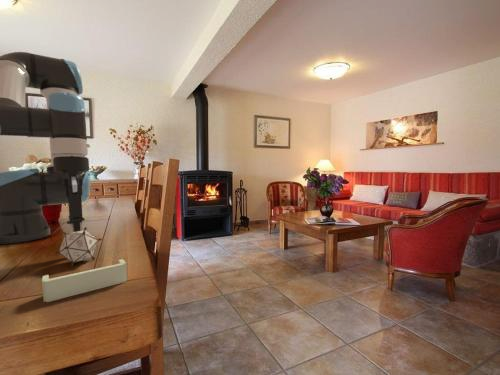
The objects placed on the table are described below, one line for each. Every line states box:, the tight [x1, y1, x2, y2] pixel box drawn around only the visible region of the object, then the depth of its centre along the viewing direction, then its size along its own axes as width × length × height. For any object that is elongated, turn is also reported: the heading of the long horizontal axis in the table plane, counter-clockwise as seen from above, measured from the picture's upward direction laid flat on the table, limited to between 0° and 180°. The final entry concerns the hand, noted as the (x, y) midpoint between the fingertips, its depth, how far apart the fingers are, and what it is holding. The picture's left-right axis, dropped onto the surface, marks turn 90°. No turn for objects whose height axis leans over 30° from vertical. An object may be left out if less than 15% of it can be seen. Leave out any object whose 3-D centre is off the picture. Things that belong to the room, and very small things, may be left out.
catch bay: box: [41, 258, 128, 303], centre depth 48 cm, size 4×13×4 cm, turn 127°
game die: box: [54, 226, 103, 267], centre depth 62 cm, size 9×8×10 cm
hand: (78, 247), depth 68 cm, fingers closed
